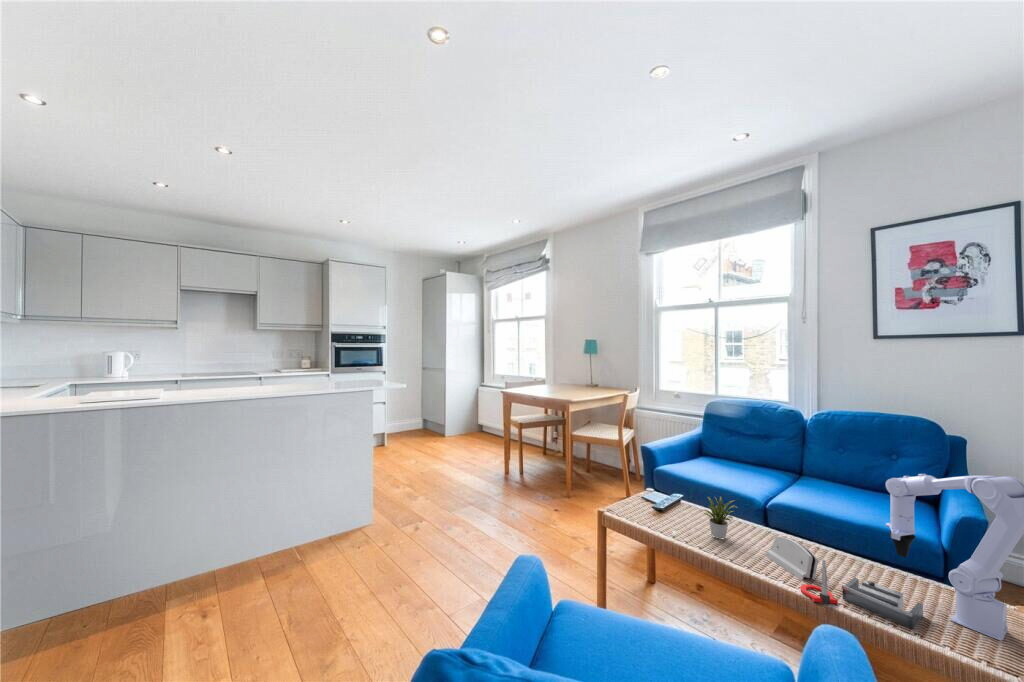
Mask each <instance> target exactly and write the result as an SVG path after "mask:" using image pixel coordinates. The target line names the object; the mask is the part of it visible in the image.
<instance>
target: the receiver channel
mask: <svg viewBox="0 0 1024 682" xmlns="http://www.w3.org/2000/svg"><path fill="white" fill-rule="evenodd" d="M859 581H860V580H859V578H857V577H854V578H852V579H851V580H850V581H849V582H847V583H846V584H845V585H843V584H842V585H841V589H842V600H844V601H847V602H849V603H852V604H853V605H856V606H858V607H860V608H864V609H865V610H868V611H870V612H873V613H875V614H877V615H879V616H882V617H884V618H886V619H887V620H888V619H889V620H891V621H893V622H896V623H898V624H901V625H902V626H904V627H907V628H909V629H912V630H913V629H914V628H915V626H916V625H917V624H918V623H919V622H920V621H921V620H922V619H923V617H924V604H923V603H920V602H919V601H918V602H917V603H916V605H915V606H913V608H912V609H911V610H910V611H907V610H904V609H903V610H902V609H900V608H898V607H895V606H893V605H890V604H888V603H885V602H883V601H880V600H878V599H876V598H873V597H871V596H868V595H866V594H863V593H861V592H859V591H858V587H859V586H860V584H859Z"/></svg>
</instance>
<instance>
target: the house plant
mask: <svg viewBox="0 0 1024 682" xmlns="http://www.w3.org/2000/svg"><path fill="white" fill-rule="evenodd" d="M707 499H708V500H709V502H710V505H709V509H710V511H709V510H708V509H706V508H705V509H704V508H703V509H704V511H706V512H704V513H703V515H705V516H708V517H710V518H709V520H708V522H709V527H710V534H712V535H713V536H715V537H718V538H725V537H727V531H728V526H729V522H728V521H730V522H732V520H733V516H731V515H729V514H731V513H732V512H734V510H731V511H730V509H731V508H735V509H736V508H739V507H738V506H737V505H734V504H733V505H730V504H732V502H736V501H737V500H730V501H728V502H727V503H723V499H722V496H719V500H718V499H717V497H714V499H715V500H716V505H715V502H714V501H713V499H711V497H710V496H707ZM729 505H730V506H729ZM727 507H728V508H727ZM712 535H711V536H712ZM725 539H726V538H725Z"/></svg>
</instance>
